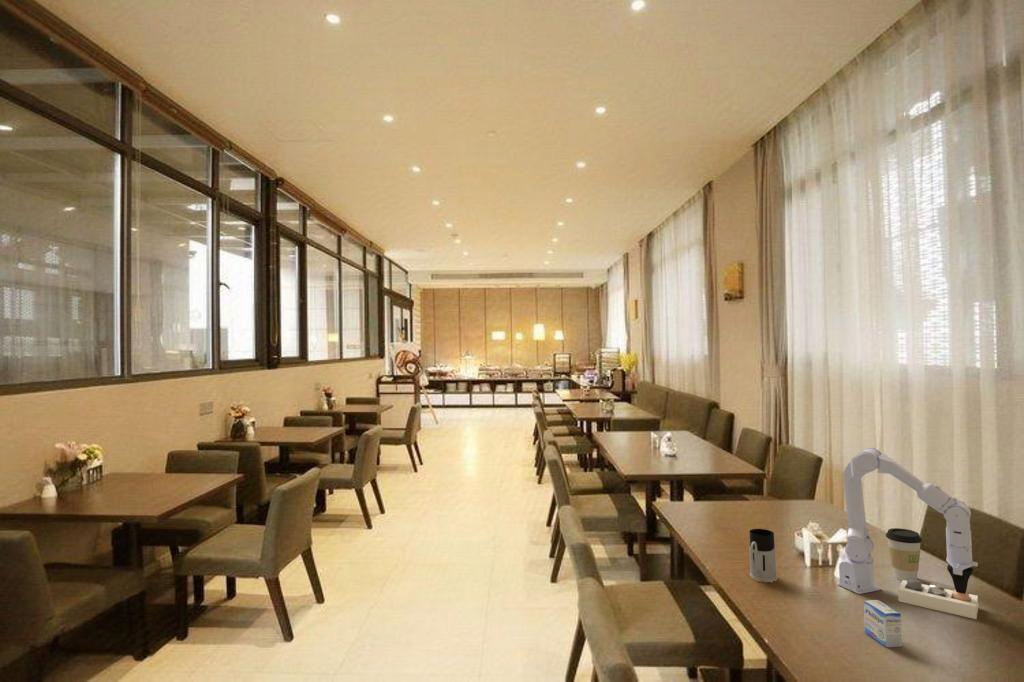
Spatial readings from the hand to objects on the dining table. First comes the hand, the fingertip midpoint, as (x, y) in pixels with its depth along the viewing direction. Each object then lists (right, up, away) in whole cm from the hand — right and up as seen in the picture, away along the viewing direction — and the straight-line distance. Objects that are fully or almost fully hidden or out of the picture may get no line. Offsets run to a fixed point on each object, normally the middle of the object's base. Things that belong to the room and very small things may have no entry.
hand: (961, 592), depth 161 cm
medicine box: (-32, -6, -15) cm, 36 cm away
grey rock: (-4, -3, +4) cm, 6 cm away
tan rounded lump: (0, -3, 0) cm, 3 cm away
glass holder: (-47, -7, +24) cm, 53 cm away
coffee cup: (0, -6, +23) cm, 23 cm away
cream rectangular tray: (-4, -5, +4) cm, 7 cm away
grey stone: (-8, -3, +7) cm, 11 cm away
